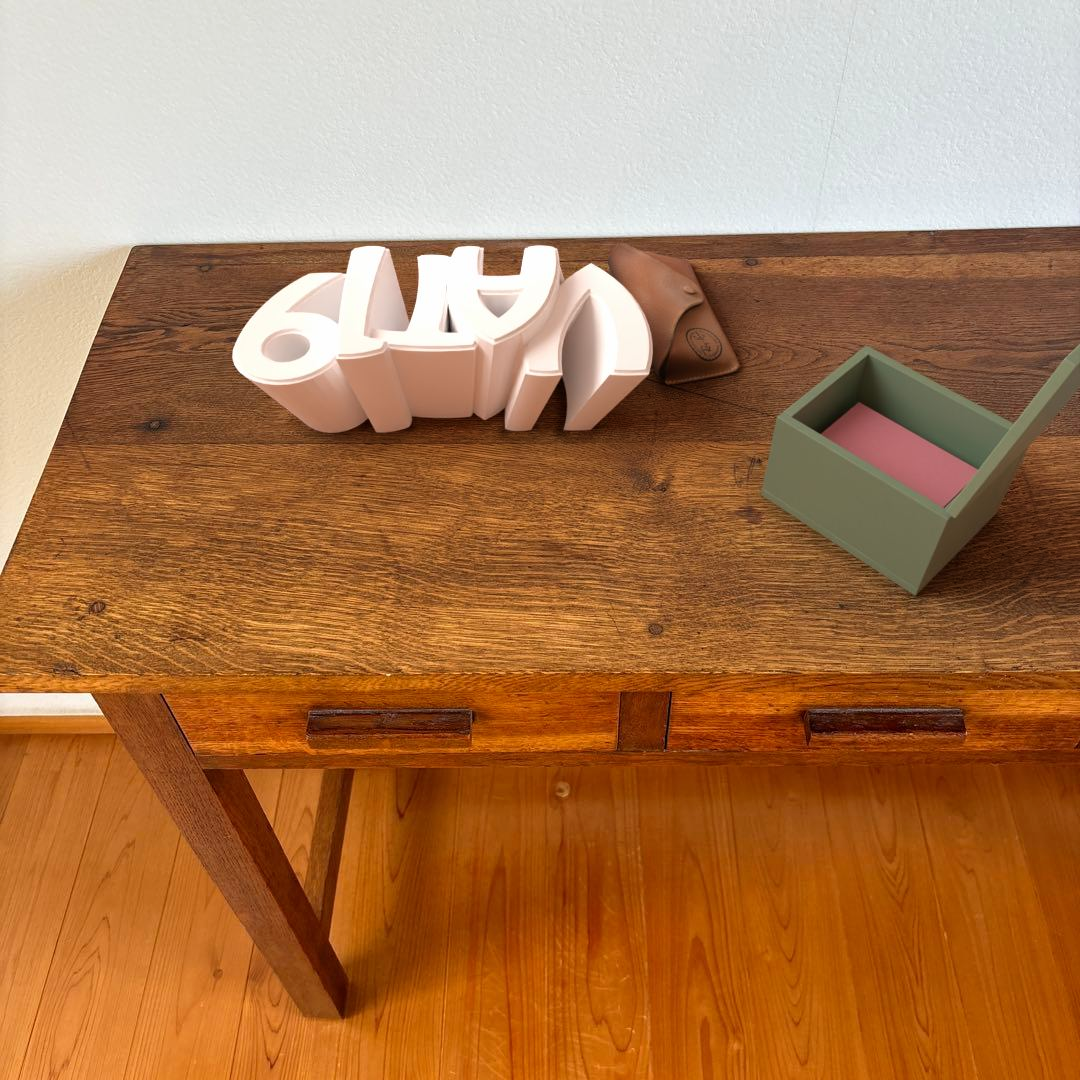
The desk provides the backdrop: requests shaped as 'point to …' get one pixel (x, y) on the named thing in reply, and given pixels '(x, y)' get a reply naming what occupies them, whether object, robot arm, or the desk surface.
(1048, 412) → the lid
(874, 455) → the pink rectangular block
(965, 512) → the box
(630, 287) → the sunglasses case
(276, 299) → the wavy white extrusion
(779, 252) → the desk surface
